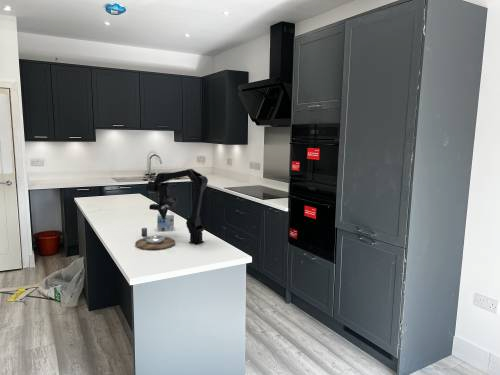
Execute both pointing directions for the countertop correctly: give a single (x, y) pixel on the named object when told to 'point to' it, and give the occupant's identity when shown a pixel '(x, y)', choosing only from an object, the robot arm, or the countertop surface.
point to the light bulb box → (165, 222)
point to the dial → (151, 238)
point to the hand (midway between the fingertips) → (163, 219)
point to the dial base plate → (146, 246)
